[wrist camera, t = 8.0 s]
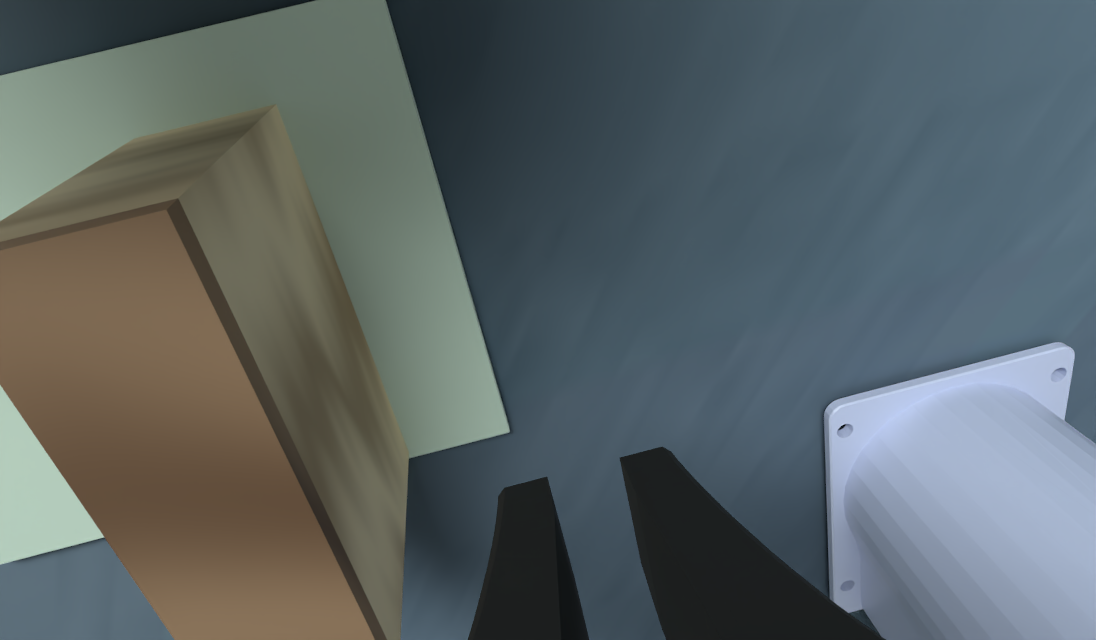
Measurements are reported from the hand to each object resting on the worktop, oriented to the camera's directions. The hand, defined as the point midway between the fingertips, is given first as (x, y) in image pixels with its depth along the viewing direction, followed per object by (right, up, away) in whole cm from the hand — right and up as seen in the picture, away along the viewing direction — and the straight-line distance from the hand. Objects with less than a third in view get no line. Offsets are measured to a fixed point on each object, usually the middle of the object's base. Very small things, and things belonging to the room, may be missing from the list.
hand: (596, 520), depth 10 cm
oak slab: (-7, +3, +8) cm, 11 cm away
